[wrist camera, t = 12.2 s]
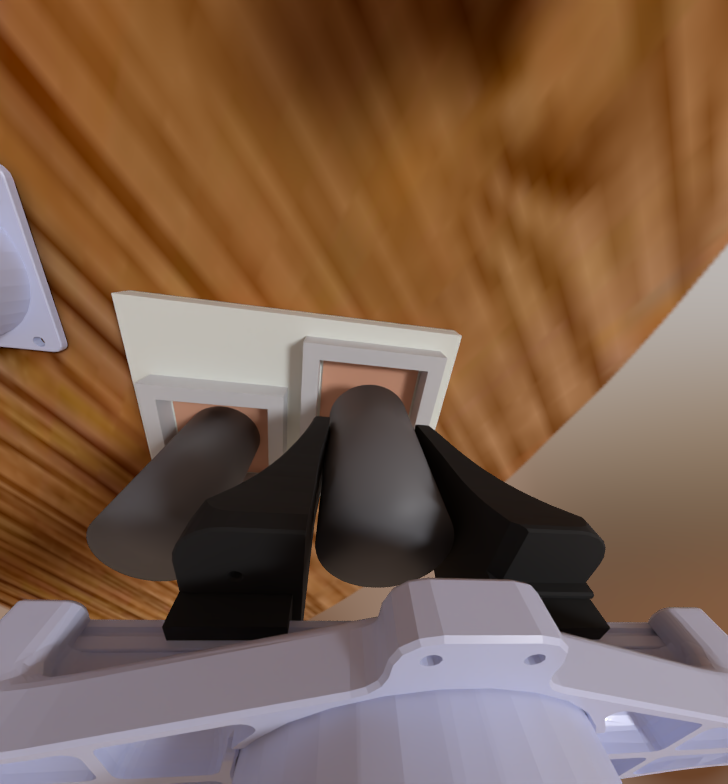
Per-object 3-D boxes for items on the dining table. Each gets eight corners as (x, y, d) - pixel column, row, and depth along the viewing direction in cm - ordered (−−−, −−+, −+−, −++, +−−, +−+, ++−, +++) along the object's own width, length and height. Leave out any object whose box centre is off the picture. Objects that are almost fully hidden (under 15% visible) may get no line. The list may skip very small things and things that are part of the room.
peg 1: (190, 458, 17) (97, 577, 11) (187, 400, 15) (75, 501, 9) (258, 466, 17) (208, 584, 11) (262, 412, 16) (206, 514, 9)
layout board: (169, 475, 19) (146, 502, 17) (129, 290, 14) (89, 296, 12) (410, 489, 21) (418, 515, 19) (454, 330, 16) (471, 342, 14)
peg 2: (325, 448, 15) (310, 585, 9) (333, 380, 13) (321, 486, 7) (398, 454, 15) (434, 589, 9) (413, 389, 14) (472, 497, 7)
